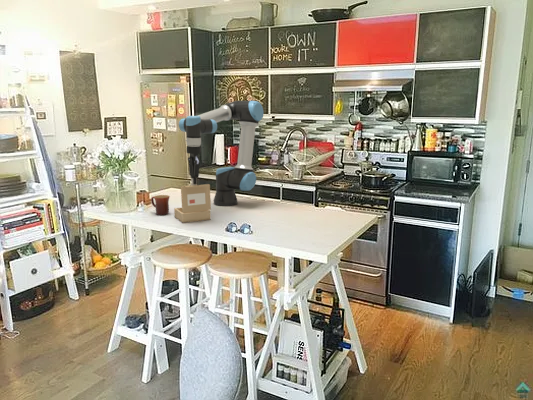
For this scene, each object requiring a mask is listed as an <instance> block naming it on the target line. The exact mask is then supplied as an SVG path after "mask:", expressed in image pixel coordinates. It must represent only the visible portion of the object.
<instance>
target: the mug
mask: <svg viewBox="0 0 533 400" xmlns="http://www.w3.org/2000/svg"><path fill="white" fill-rule="evenodd" d="M170 197H171V196H170V195H168V194H158V195H157V194H156V195H154V196H152V197H150V201H151V204H152V206H153V207H154V208H155V214H156V215H157V216H166V215H168V214H169V212H170V207H169V206H170V205H169V201H170Z"/></svg>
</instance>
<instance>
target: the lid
mask: <svg viewBox="0 0 533 400" xmlns="http://www.w3.org/2000/svg"><path fill="white" fill-rule="evenodd" d="M180 194H181V196H180V197H181V208H182V213H185V212H194V211H203V210H210V211H211V210H212V204H211V202H212V201H211V200H212V199H211V184H210V183H205V184H197V185H192V186H191V185H183V186H180Z"/></svg>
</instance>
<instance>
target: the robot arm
mask: <svg viewBox="0 0 533 400" xmlns="http://www.w3.org/2000/svg"><path fill="white" fill-rule="evenodd" d="M264 112H265V111H264V108H263V105H262V103H260V102H259V101H257V100H234V101H230V102H228V103H225V104H222V105H221V106H220V107H219V108H215V109H211V110H210V111H206V112H204V113H201V114H198V115H188V116H186V117H185V118H181V119H180V120H179V121H178V128H179V130H180V131H181V132H182V133H183V132H184V133H186V134H185V136H186V139H185V142H186V153H187V154H189V157H187V162H188V169H189V170H188V171H189V176H190V181H191V182H190V183H191V185H190V186H192V185H198V178H199V177H200V176H199V175H200V163H201V160H200V159H199V154H201V153H202V151H201V150H202V147H201V145H202V135H203V134H204V135H205V134H214V133H215V132H216V131H217V130H218V123H221V122H222V121H230V120H236V121H237V120H238V121H239V124H240V126H241V128H240V136H239V144H238V145H239V146H238V155H237V164H236V165H235V166H228V167H227V166H225V167H218V168H216V171H215V190H216V191H215V194H214V197H213V205H216V206H219V207H230V206H232V207H233V206H235V205H238V197H237V194H236V192H235V191H236V190H239V191H244V192H245V191H246V192H247V191H251V190H252V189H253V188H254V187H255V185H256V182H257V176H256V175H257V174H256V173H255V172H254V168H253V167H252V163H253V153H254V144H255V143H254V142H255V135H256V127H257V126H258V125H259V123H260V121H262V119H263V118H264Z"/></svg>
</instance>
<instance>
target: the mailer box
mask: <svg viewBox="0 0 533 400" xmlns="http://www.w3.org/2000/svg"><path fill="white" fill-rule="evenodd" d="M211 215H212V214H211V210H203V211H194V212H185V213H182V207H174V218H175V219H177V220H178V221H179V222H181V224H186V223H194V222H201V221H202V220H204V221H210V220H211ZM202 222H203V221H202Z"/></svg>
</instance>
